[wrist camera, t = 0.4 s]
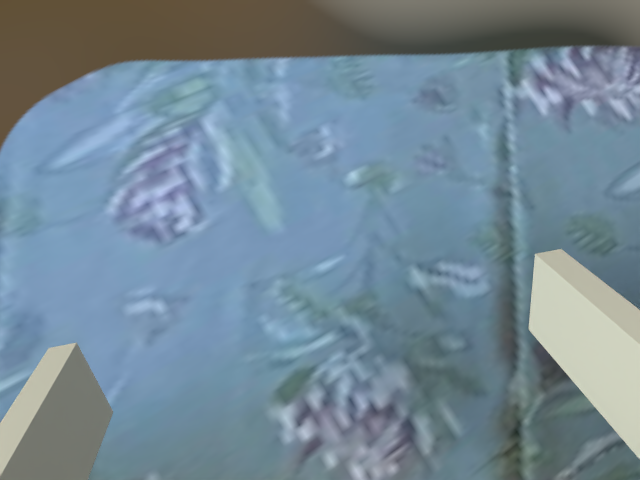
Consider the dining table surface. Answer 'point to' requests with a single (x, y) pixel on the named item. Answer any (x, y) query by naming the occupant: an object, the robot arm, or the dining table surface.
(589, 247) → the dining table surface
